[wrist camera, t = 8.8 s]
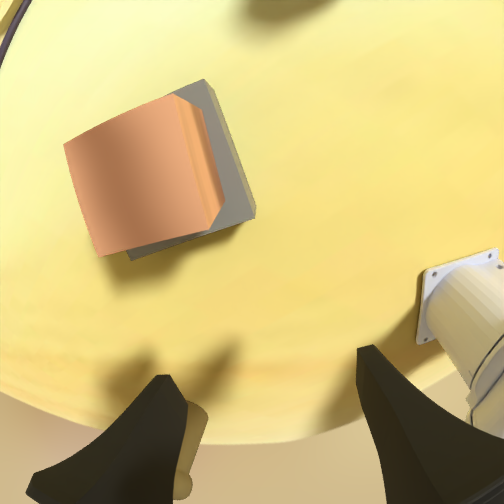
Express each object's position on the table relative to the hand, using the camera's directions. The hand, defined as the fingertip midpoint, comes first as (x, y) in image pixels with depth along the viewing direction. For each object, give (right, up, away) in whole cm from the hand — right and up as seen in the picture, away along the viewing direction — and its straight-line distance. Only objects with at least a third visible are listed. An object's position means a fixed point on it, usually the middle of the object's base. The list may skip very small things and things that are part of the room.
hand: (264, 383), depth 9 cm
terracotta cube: (-5, +9, +4) cm, 11 cm away
